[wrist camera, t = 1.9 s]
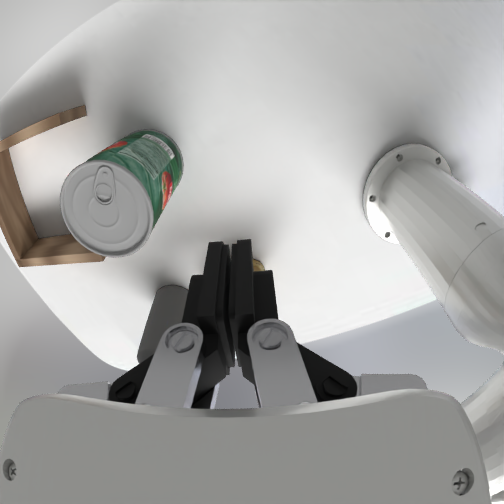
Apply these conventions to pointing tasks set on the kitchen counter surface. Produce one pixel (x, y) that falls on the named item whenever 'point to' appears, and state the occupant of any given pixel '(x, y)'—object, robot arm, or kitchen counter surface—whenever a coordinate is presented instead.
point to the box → (16, 215)
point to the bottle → (162, 318)
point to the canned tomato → (121, 193)
